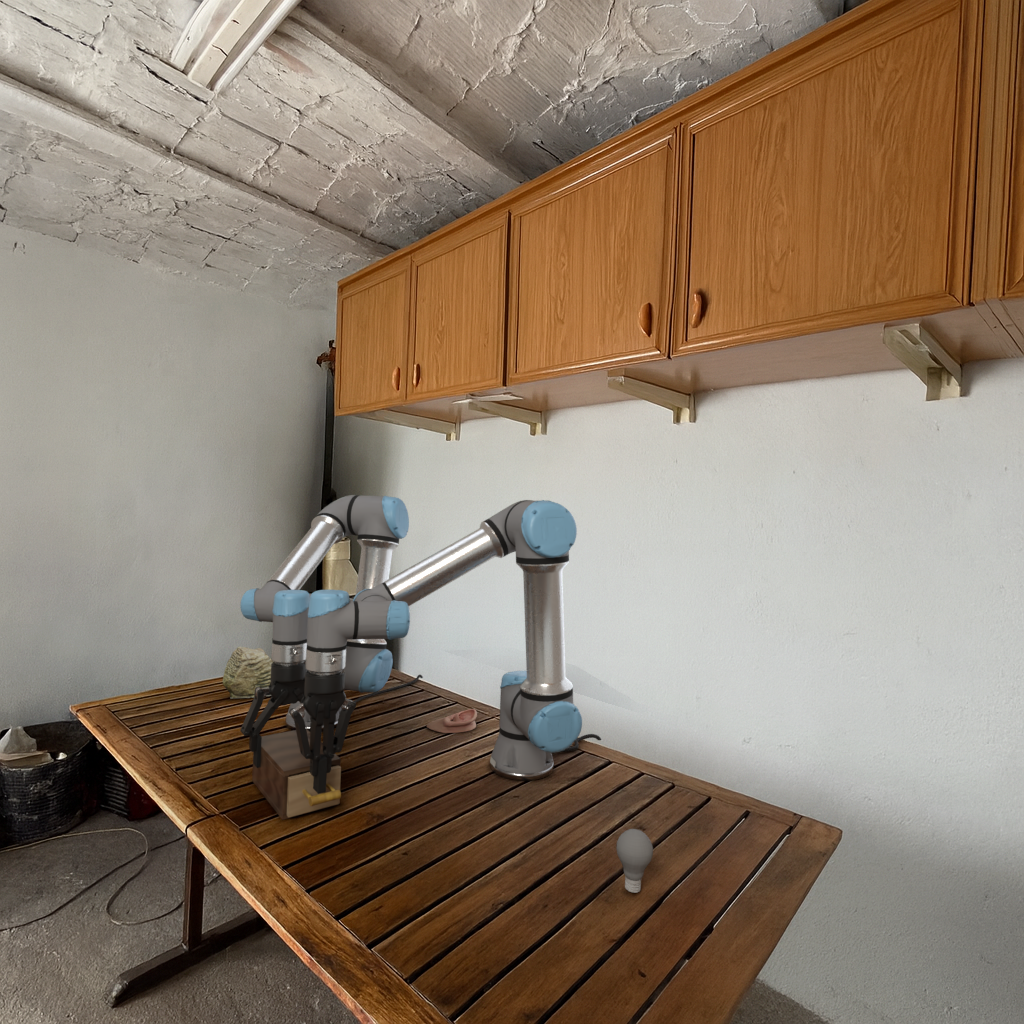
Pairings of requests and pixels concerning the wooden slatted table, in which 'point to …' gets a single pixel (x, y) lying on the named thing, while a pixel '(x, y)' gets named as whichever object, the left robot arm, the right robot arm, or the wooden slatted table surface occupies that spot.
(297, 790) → the drawer
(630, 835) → the light bulb
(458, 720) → the anatomical model
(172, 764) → the wooden slatted table surface
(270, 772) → the cabinet
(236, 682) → the fossil
